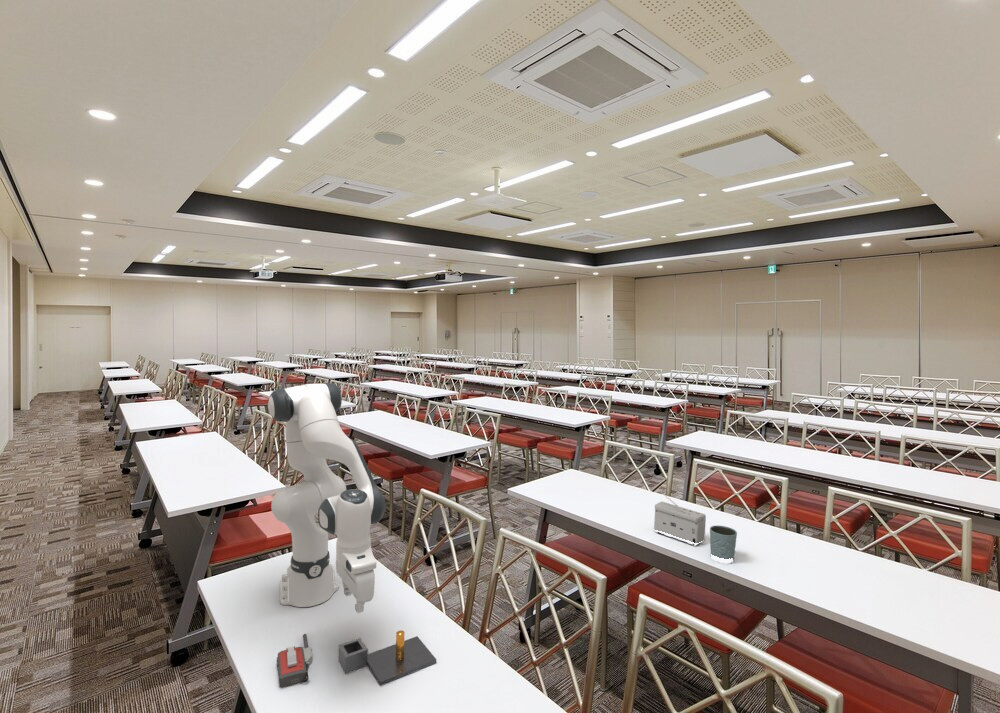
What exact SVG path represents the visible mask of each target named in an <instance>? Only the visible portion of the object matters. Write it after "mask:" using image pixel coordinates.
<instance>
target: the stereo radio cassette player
mask: <svg viewBox="0 0 1000 713" xmlns="http://www.w3.org/2000/svg"><path fill="white" fill-rule="evenodd" d="M658 492H660V493H661V494H662V495H663V496H664V497H666V499H668V500H669V501H670V502H672V503H669V502H665V501H660V502H657V503H656V504H654V521H653V522H654V523H653V524H654V525H653V530H654V529H655V530H658V531H662V532H665V533H668V534H671V535H673V536H676V537H679V538H682V539H685V540H689V541H691V542H694V543H699V542H701V541H703V540H704V541H705V536H706V522H707V521H706V520H707V519H706V517H707V516H706V514H705V513H702V512H700V511H699V512H698V511H696V510H692V509H689V508H686V507H682V506H679V505H678V504H677V503H676V502H674V501H673V500H672V499H670V498H669V497H668V496H667V495H665V494H664V493H663V492H661V490H660V489H659V490H658ZM655 530H654V531H655ZM704 541H703V542H704Z"/></svg>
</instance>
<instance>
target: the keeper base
mask: <svg viewBox="0 0 1000 713" xmlns="http://www.w3.org/2000/svg"><path fill="white" fill-rule="evenodd" d="M395 640H396V641H395V644H392V645H389V646H386V647H384V648H381V649H378V650H376V651H373V652H370V653H368V666H367V668H369V670H370V672H371V673H372V675H373V677H374V679H375V680H376V682H377V683H378V685H379V686H380V687H382V686H383V685H386V684H389V683H390V682H393V681H396V680H398V679H401V678H404V677H406V676H408V675H410V674H412V673H415V672H418V671H420V670H422V669H425V668H427V667H430V666H432V665H435V664H437V658H436V657H435V655H433V652H431V651H430V650H429V648H428V647H427V646H426V645H425V643H424V642H423V641H422V640H421V639H420V637H419V636H418V635H416V636H414V637H411V638H408V639H405V631H404V630H397V631H396V634H395Z"/></svg>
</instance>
